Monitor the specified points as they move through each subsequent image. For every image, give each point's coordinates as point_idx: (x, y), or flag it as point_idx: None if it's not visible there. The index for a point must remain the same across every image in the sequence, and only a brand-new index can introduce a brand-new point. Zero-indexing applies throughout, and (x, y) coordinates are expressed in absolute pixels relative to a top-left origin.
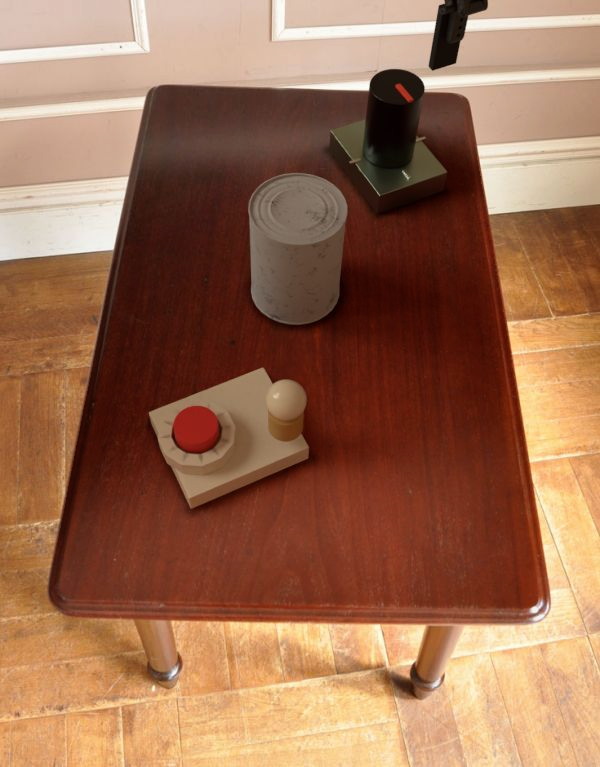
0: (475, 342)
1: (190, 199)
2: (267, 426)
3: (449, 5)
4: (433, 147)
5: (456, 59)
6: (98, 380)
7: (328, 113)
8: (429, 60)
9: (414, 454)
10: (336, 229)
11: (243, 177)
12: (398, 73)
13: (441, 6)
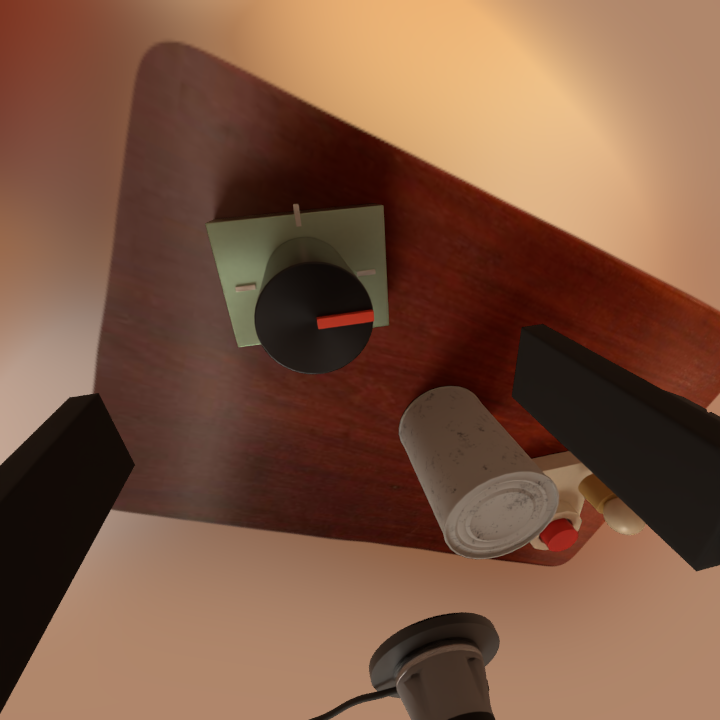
0: (586, 280)
1: (288, 488)
2: (564, 481)
3: None
4: (275, 167)
5: (550, 329)
6: (450, 552)
7: (154, 308)
8: (521, 405)
9: None
10: (550, 486)
11: (268, 438)
12: (275, 304)
13: (709, 563)
